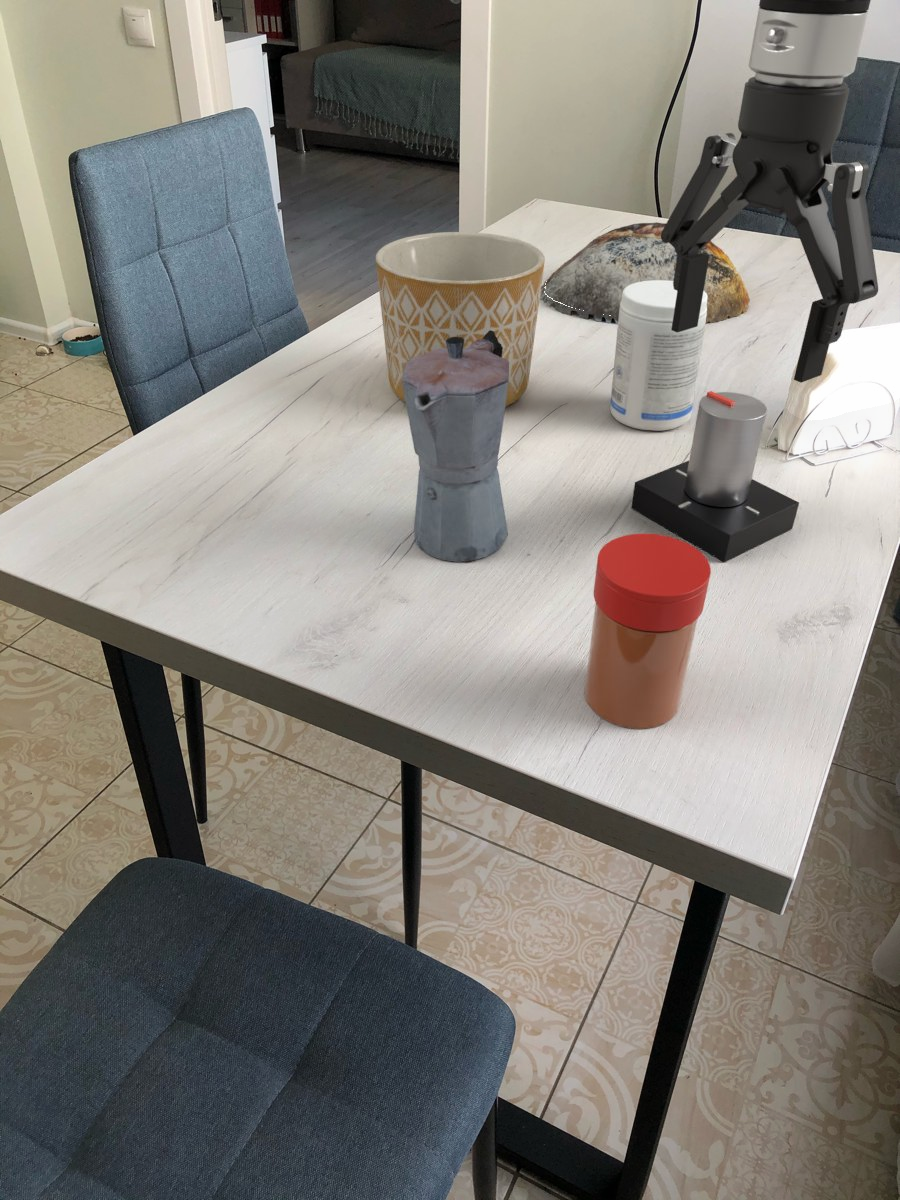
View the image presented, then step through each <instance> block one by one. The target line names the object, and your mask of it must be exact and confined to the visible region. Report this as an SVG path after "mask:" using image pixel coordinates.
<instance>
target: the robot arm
mask: <svg viewBox="0 0 900 1200" xmlns="http://www.w3.org/2000/svg"><path fill="white" fill-rule="evenodd" d="M871 1H872V0H759V2H758V3H759V4H758V9H757V16H756V20H755V21H756V22H755V28H754V33H753V38H752V44H751V50H750V56H749V61H748V67H749V69H750V71H752V72H753V73H755V75H754V76H752V77H750V78H749V79H748V81H746V82H745V83H744V88H743V92H742V93H743V94H742V99H741V105H740V111H739V116H738V121H737V128H738V130H739V132H740V137H739V140H736V136H735V134H734V133H732V132H727V133H721V134H715V135H710V136H708V137H706V139H705V141H704V144H703V147H702V148H703V149H702V153H701V156H700V161H699V164H698V166H697V167H696V169H695V171H694V173H693V174H692V176H691V178H690V180H689V182H688V184H687V186H686V187H685V189H684V190H683V193H682V194H681V196H680V198H679V200H678V202H677V203H676V205H675V207H674V208H673V211H672V212H671V214H670V216H669V218H668V220H667V221H666V225H665V227H664V229H663V230H662V232H661V240H662V241H663V242H664V243H670V244H671V245H672V246H673V247H674V248H675V252H676V254H677V260H676V267H675V273H674V280H673V287H674V290H677V297H676V303H675V310H674V316H673V323H672V329H671V330H672V331H675V332H677V333H678V332H681V331H684V330H687V329H691V328H694V327H697V326H698V320H699V314H700V308H701V303H702V297H703V291H704V285H705V279H706V273H707V267H708V261H709V256H710V255H708V254H705V253H701V254H699V251H701V250H705V249H707V247H706V248H704V247H705V246H706V245H707V244H708V243H709V242H710V241H711V242H712V240H713V239H714V238H715V237H716V236H717V235H718V234H719V233H721V231H722V230H724V228H725V227H726V226H727V225H728V224H729V223H730V222H731V221H732V220H733V219H735V217H736V216H737V215H738V214H739V213H740V212H741V211H742V210H743V209H744V208H745V207H746V206H747V205H748V207H749V208H753V209H765V210H767V211H768V212H770V213H771V214H774V215H778V216H780V215H786V218H787V221H788V223H789V224H790V225H791V226H793V227H794V228H795V230H796V233H797V235H798V238H799V240H800V243H801V245H802V248H803V251H804V253H805V256H806V259H807V261H808V264H809V266H810V269H811V272H812V275H813V276H814V280H815V283H816V284H817V287H818V290H819V292H820V295H821V299H816V300H814V301H812V302H811V307H810V311H809V314H808V319H807V322H806V326H805V331H804V335H803V338H802V345H801V348H800V352H799V355H798V360H797V364H796V368H795V373H794V376H793V381H796V382H798V383H801V384H802V383H804V382H807V381H809V380H812V379H815V378H817V377H820V376H822V374H823V370H824V368H825V367H824V366H825V363H826V359H827V356H828V351H829V347H830V345H831V344H834V343H836V342H838V340H839V339H840V338H841V336H842V333H843V328H844V324H845V322H846V318H847V315H848V314H847V313H848V311H849V310H848V309H849V307H850V305H853V304H856V303H857V304H858V303H860V302H862V301H866V300H869V299H872V298H874V297H876V296H877V295H878V294H879V284H878V277H877V270H876V261H875V255H874V247H873V242H872V240H873V239H872V233H871V227H870V219H869V212H868V205H867V199H866V192H867V184H868V179H869V173H870V166H869V163H867V161H865V160H860V161H855V162H850V163H843V162H834V160H833V147H834V144H835V142H836V140H837V138H838V136H839V134H840V132H841V129H842V124H843V120H844V116H845V112H846V106H847V102H848V98H849V94H850V88H849V87H848V83H846V81H844V79H845V78H847V77H849V76H850V75H851V74H853V73H855V70H856V65H857V60H858V57H859V53H860V47H861V43H862V39H863V35H864V30H865V26H866V21H867V16H868V12H869V9H870V4H871ZM732 164H733V167H734V170H735V173H736V175H737V176H735V178H734V179H732V181H731V182H730V183H729V184H728V185H727V186H726V187H725V188H724V189H723V190H722V191H721V192H720V197H719V198H717V200H716V201H715V202H714V203H713V204H712V205H711V206H710V207H709V208H708V209H707V210H706V211H705V209H706V207H707V205H708V203H709V202H710V200H711V198H712V197H713V195H714V194H715V192H716V190H717V189H718V187H719V185H720V183H721V182H722V180H723V179H724V176H725V175H726V174H727V171H728V169H729V166H732ZM827 182H828V185H827V186H826V188H827V192H829V193H831V209H832V217H833V224H834V230H835V232H834V230H833V227H832V224H831V222H830V219H829V217H828V213H829V205H828V202H827V200H826V197H825V195H824V192H823V190H822V187H823V186H824V185H825V184H826V183H827ZM806 204H807V207H805V205H806ZM704 211H705V212H704ZM703 212H704V214H703Z"/></svg>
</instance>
